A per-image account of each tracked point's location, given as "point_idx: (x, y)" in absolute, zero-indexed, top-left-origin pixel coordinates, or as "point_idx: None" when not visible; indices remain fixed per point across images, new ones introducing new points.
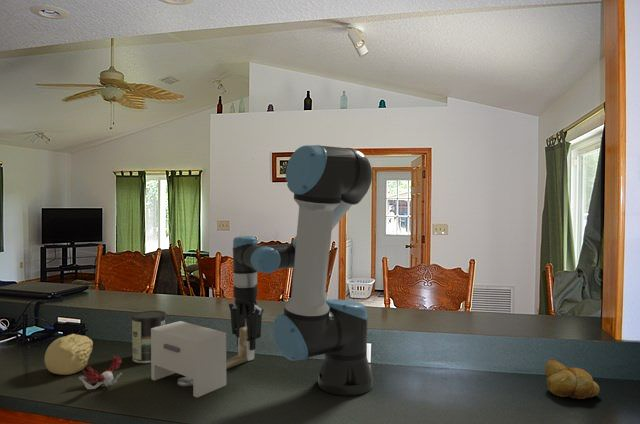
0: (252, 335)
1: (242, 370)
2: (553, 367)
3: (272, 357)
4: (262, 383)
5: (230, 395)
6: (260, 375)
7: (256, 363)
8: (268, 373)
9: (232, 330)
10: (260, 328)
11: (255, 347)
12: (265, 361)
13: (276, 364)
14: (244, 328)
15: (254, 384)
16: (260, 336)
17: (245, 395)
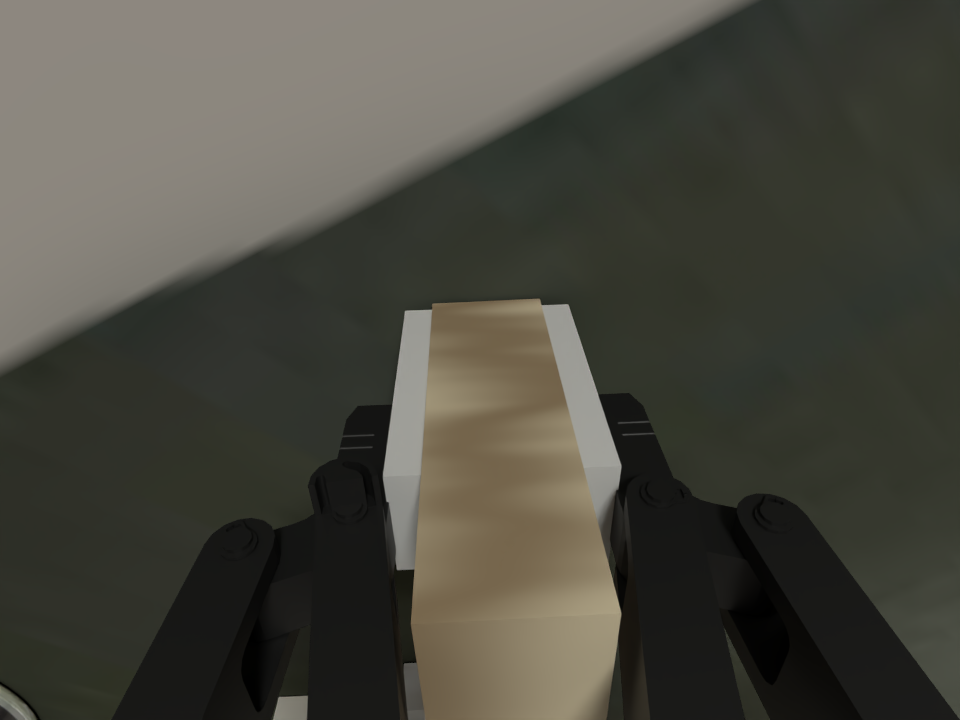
0: (587, 498)
1: None
2: None
3: (709, 109)
4: (940, 564)
5: None
6: (855, 497)
7: (660, 356)
8: (901, 441)
9: (243, 657)
10: (906, 668)
11: (643, 409)
12: (710, 263)
13: (874, 252)
14: (517, 705)
15: (892, 596)
16: (803, 514)
17: None
